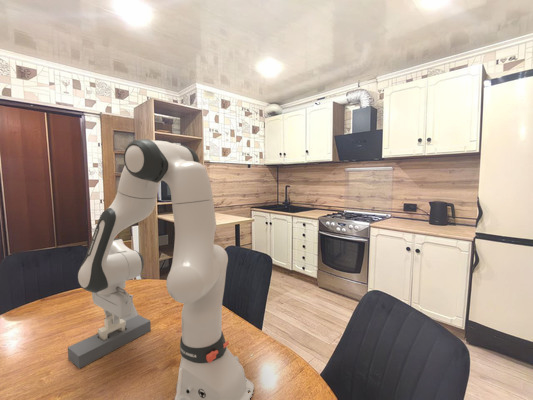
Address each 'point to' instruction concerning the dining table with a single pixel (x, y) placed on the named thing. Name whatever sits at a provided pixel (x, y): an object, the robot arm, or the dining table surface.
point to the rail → (107, 342)
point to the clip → (110, 327)
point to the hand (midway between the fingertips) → (112, 321)
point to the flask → (134, 311)
